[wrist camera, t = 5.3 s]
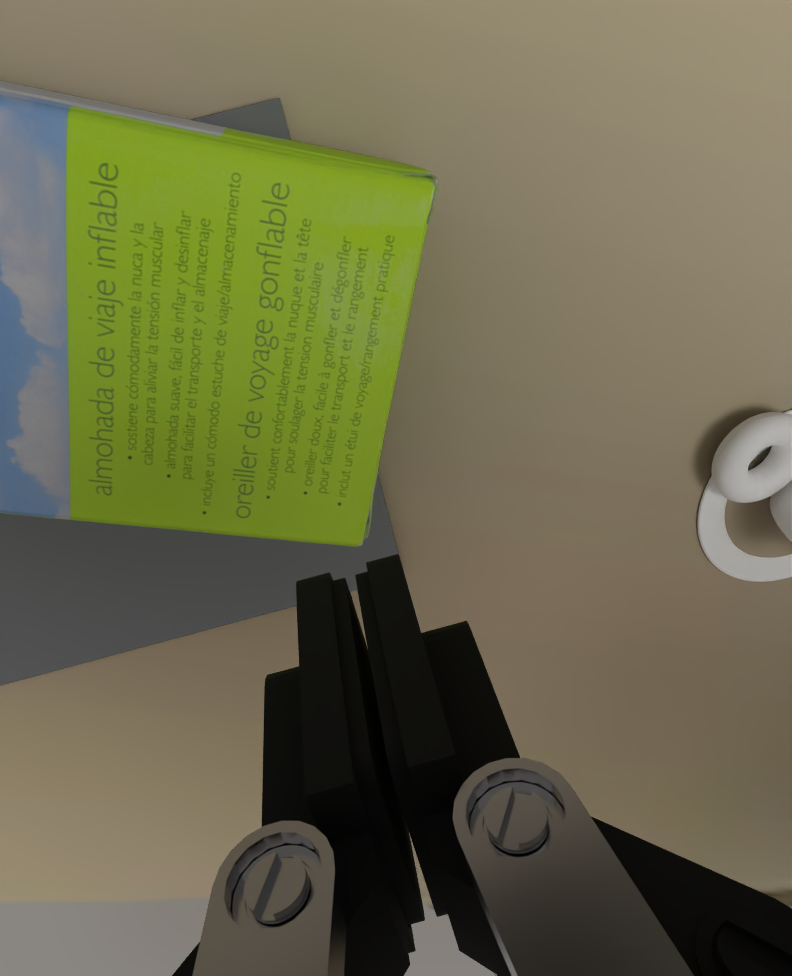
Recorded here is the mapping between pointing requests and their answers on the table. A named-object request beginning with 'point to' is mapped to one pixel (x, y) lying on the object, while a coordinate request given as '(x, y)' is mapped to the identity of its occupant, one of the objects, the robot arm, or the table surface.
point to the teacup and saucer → (749, 494)
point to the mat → (153, 561)
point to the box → (197, 320)
